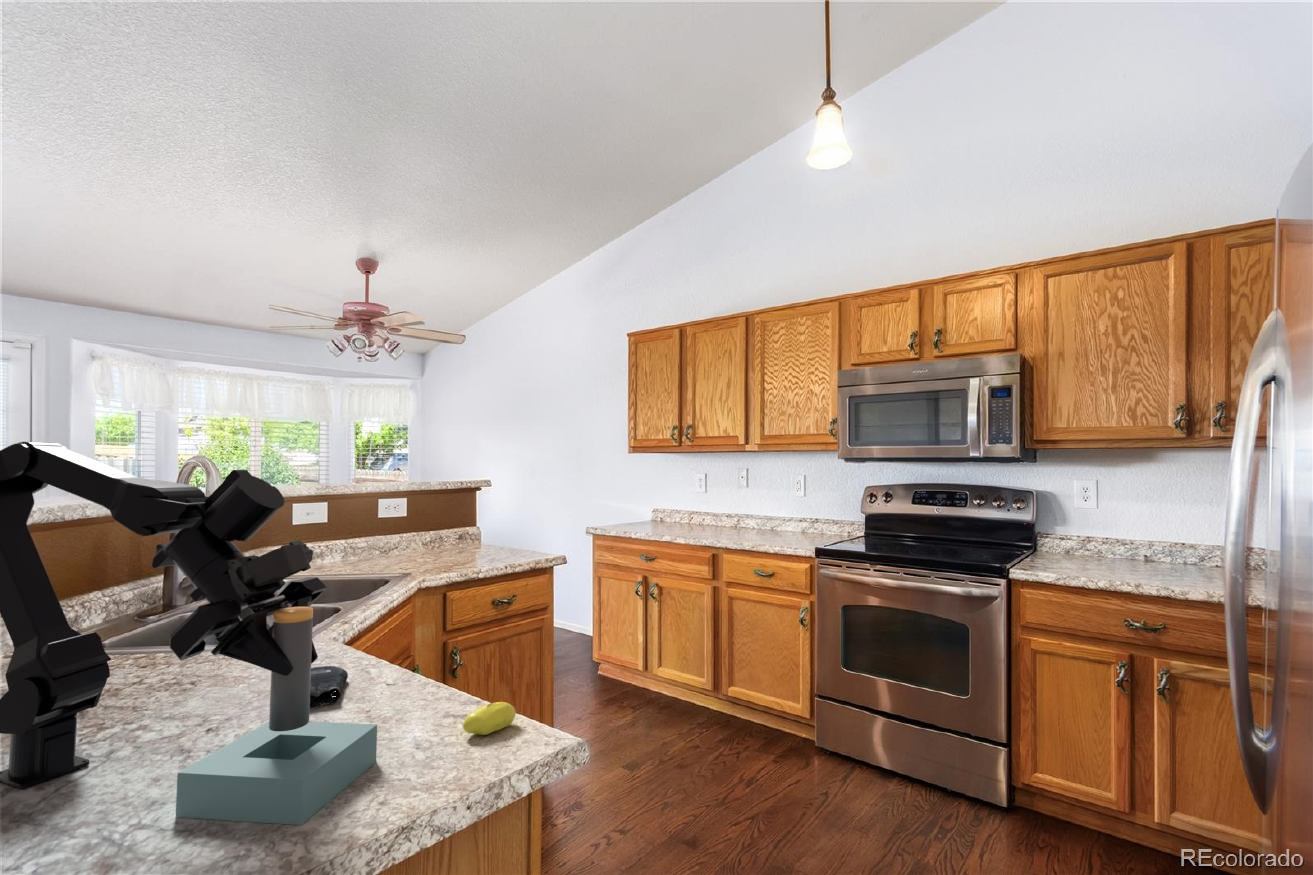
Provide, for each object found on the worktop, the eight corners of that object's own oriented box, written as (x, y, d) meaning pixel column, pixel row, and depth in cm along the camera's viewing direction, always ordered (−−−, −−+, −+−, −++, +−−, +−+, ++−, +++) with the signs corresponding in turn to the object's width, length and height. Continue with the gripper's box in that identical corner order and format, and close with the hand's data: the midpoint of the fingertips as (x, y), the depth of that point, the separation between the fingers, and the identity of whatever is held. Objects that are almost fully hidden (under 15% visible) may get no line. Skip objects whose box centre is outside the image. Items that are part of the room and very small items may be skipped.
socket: (175, 817, 65) (177, 772, 65) (271, 755, 79) (272, 719, 79) (301, 825, 64) (302, 779, 64) (376, 761, 78) (377, 724, 78)
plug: (265, 723, 72) (269, 610, 73) (303, 714, 75) (307, 605, 76) (273, 734, 69) (278, 616, 70) (313, 724, 72) (317, 610, 73)
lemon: (522, 728, 88) (522, 700, 88) (469, 745, 83) (469, 715, 83) (507, 720, 91) (508, 692, 91) (455, 735, 86) (455, 706, 86)
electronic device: (347, 714, 97) (349, 672, 110) (342, 681, 96) (345, 643, 110) (278, 733, 93) (289, 687, 106) (272, 698, 92) (284, 656, 106)
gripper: (200, 528, 64) (297, 640, 63) (315, 515, 83) (392, 601, 81) (126, 603, 65) (221, 716, 63) (257, 573, 83) (332, 660, 82)
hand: (302, 666), depth 72 cm, fingers closed on plug, 4 cm apart
